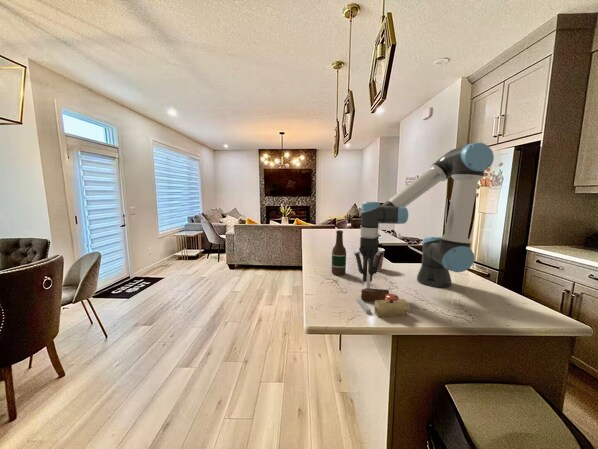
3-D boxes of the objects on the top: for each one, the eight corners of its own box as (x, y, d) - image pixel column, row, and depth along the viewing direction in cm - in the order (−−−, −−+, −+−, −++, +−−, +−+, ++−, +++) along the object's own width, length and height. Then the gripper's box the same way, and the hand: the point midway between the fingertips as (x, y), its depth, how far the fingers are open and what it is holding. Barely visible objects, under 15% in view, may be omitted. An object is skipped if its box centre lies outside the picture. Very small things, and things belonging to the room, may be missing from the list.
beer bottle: (345, 276, 134) (346, 231, 131) (330, 275, 135) (331, 231, 133) (345, 271, 141) (347, 229, 139) (331, 271, 143) (332, 229, 140)
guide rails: (397, 300, 102) (397, 297, 102) (410, 311, 92) (411, 307, 92) (357, 302, 100) (357, 298, 100) (366, 313, 90) (366, 309, 90)
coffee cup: (368, 265, 155) (369, 246, 153) (385, 268, 149) (386, 248, 148) (363, 269, 146) (364, 249, 145) (381, 272, 141) (382, 251, 139)
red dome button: (402, 311, 93) (403, 293, 92) (408, 316, 88) (409, 297, 88) (373, 312, 91) (374, 294, 91) (378, 318, 87) (379, 299, 86)
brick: (387, 300, 103) (388, 289, 102) (388, 304, 99) (389, 293, 98) (361, 297, 106) (361, 286, 105) (361, 301, 102) (361, 290, 101)
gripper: (379, 235, 114) (377, 285, 117) (352, 235, 113) (350, 285, 115) (387, 238, 107) (384, 291, 109) (357, 238, 105) (355, 292, 108)
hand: (367, 288), depth 112 cm, fingers closed
